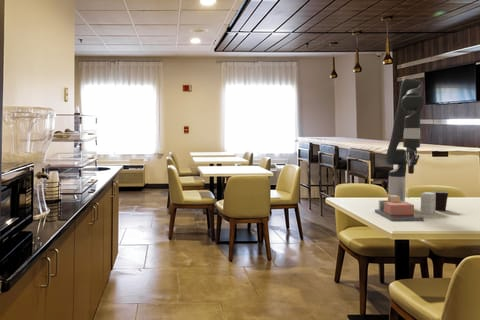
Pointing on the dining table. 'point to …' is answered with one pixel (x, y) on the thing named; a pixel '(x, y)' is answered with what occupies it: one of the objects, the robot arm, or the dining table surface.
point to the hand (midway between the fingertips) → (410, 173)
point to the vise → (396, 217)
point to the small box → (428, 202)
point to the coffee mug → (440, 200)
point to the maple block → (393, 198)
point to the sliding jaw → (398, 208)
